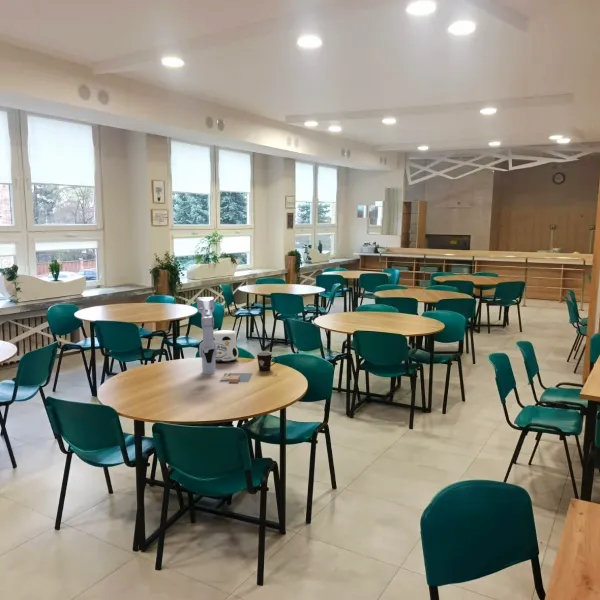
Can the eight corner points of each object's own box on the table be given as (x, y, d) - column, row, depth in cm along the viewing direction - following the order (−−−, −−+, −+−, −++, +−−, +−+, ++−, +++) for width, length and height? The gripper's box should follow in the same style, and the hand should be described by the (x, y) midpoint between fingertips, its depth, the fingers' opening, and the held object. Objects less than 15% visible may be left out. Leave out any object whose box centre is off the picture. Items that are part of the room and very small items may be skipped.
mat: (225, 373, 313) (225, 373, 313) (252, 373, 312) (252, 373, 312) (219, 382, 295) (219, 382, 295) (248, 382, 294) (248, 382, 294)
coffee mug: (254, 370, 319) (253, 353, 318) (266, 367, 325) (265, 351, 323) (266, 374, 310) (265, 357, 309) (278, 371, 316) (277, 354, 315)
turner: (225, 373, 312) (225, 372, 311) (232, 373, 311) (232, 372, 311) (220, 380, 298) (220, 379, 298) (228, 380, 298) (228, 379, 297)
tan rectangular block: (230, 375, 300) (228, 379, 293) (240, 375, 300) (237, 379, 293) (231, 379, 301) (228, 382, 294) (240, 378, 300) (238, 382, 293)
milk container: (212, 365, 333) (211, 336, 331) (209, 358, 350) (208, 330, 347) (240, 362, 338) (239, 334, 335) (236, 356, 354) (235, 329, 352)
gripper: (203, 335, 304) (204, 359, 306) (197, 341, 290) (198, 366, 292) (216, 335, 304) (217, 359, 306) (211, 341, 290) (212, 366, 291)
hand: (209, 362), depth 299 cm, fingers closed
